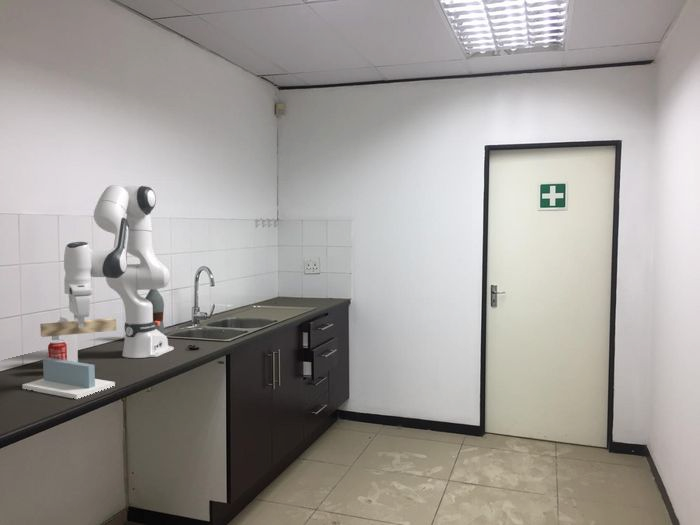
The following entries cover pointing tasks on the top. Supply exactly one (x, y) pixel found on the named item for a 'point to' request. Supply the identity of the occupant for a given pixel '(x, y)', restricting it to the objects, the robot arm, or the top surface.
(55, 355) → the beverage can
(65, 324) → the maple bar
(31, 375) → the top surface
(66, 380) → the ridge stand
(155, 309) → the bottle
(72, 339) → the milk carton
